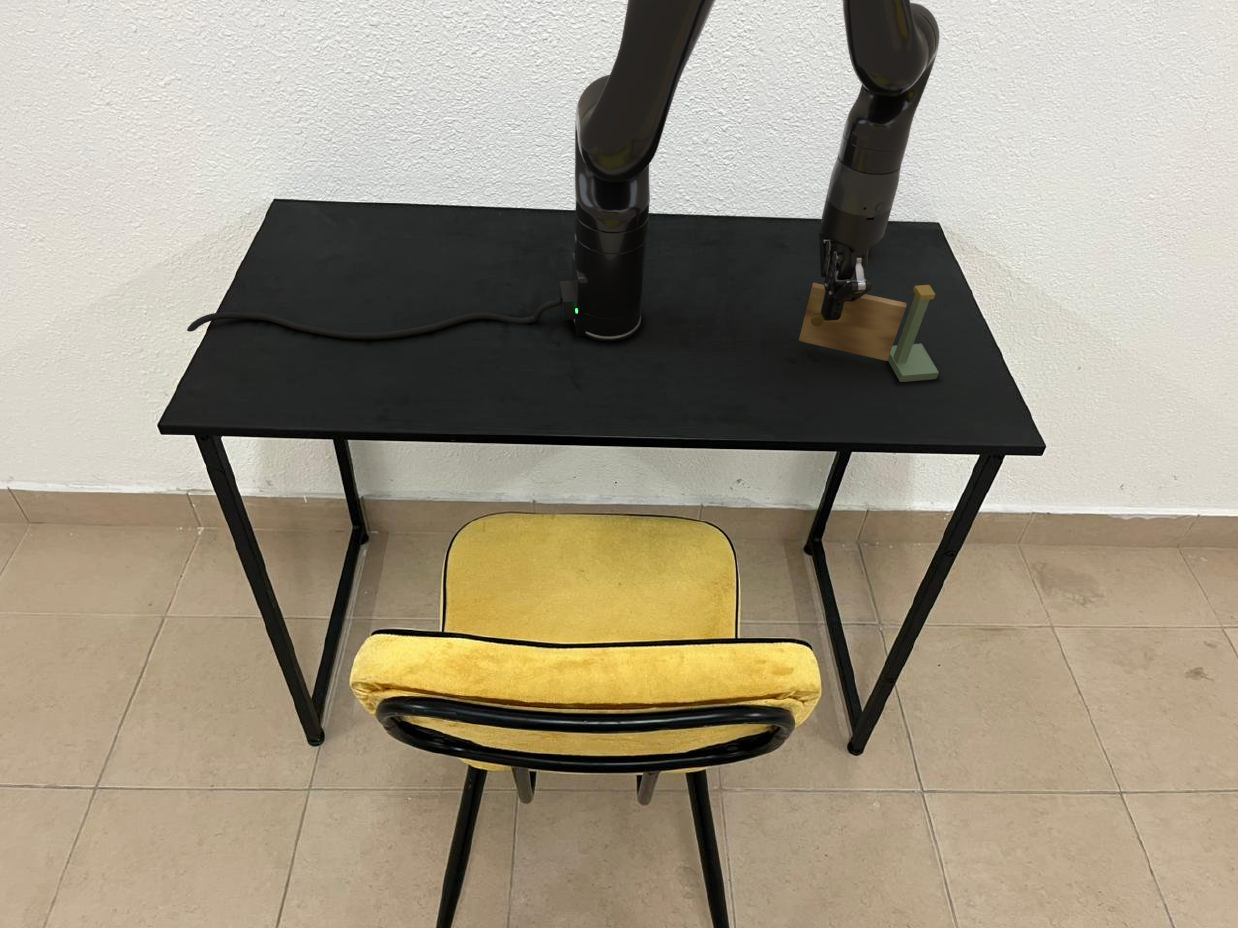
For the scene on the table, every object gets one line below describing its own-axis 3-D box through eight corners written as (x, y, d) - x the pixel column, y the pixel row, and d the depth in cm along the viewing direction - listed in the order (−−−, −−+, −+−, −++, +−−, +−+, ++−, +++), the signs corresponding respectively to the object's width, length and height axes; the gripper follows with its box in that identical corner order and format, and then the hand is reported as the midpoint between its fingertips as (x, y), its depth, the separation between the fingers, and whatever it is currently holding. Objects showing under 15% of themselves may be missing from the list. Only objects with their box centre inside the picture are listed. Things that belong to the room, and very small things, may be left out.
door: (797, 345, 123) (810, 291, 117) (799, 336, 125) (813, 282, 118) (886, 365, 121) (905, 311, 115) (887, 356, 123) (906, 302, 116)
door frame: (898, 382, 121) (927, 305, 112) (882, 353, 125) (908, 276, 116) (936, 379, 122) (967, 302, 113) (919, 350, 126) (948, 273, 117)
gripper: (811, 168, 109) (787, 288, 121) (848, 229, 100) (817, 352, 112) (871, 165, 110) (841, 285, 122) (913, 225, 101) (875, 347, 113)
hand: (830, 317), depth 117 cm, fingers closed
